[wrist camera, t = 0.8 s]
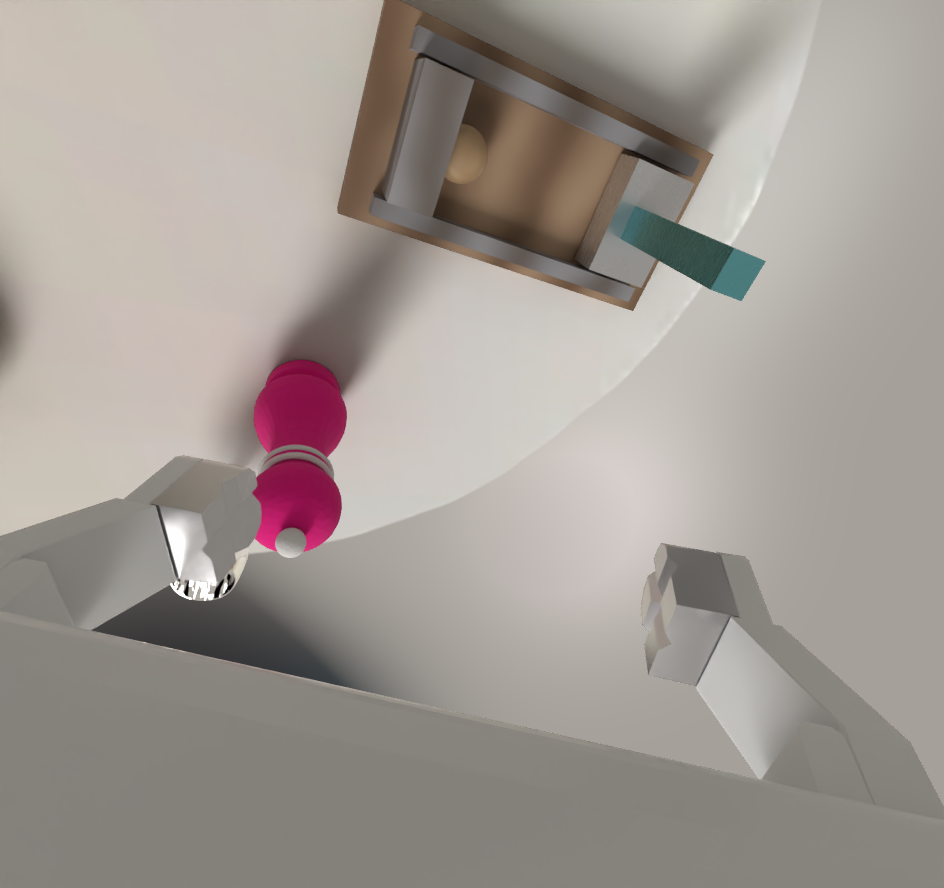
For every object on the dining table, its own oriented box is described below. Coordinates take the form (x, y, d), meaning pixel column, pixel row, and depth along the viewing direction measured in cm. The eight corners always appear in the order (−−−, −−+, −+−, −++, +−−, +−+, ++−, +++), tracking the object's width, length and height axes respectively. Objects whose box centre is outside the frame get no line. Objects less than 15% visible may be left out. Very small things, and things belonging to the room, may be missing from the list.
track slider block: (574, 258, 44) (667, 328, 32) (621, 153, 40) (746, 187, 28) (624, 276, 46) (731, 349, 34) (673, 177, 42) (812, 219, 30)
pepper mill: (349, 358, 47) (359, 506, 31) (341, 429, 51) (347, 595, 35) (260, 348, 45) (221, 502, 29) (259, 423, 49) (223, 597, 33)
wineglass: (269, 472, 52) (255, 564, 42) (246, 515, 54) (228, 612, 44) (206, 451, 49) (175, 543, 39) (184, 497, 51) (150, 596, 42)
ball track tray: (337, 207, 40) (338, 229, 35) (384, -2, 34) (395, -18, 29) (623, 303, 50) (660, 332, 44) (699, 151, 44) (754, 163, 38)
